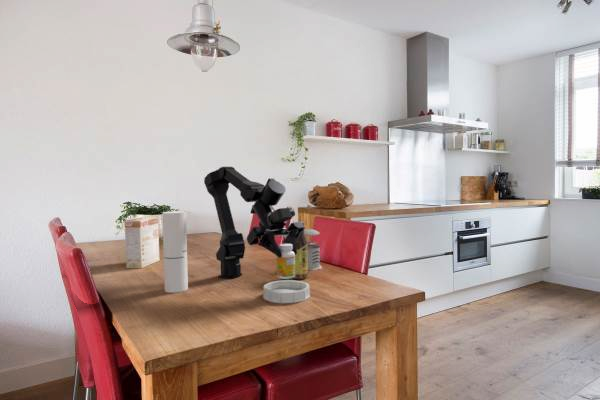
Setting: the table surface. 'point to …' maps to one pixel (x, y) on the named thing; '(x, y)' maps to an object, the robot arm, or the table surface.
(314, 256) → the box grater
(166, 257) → the cylindrical container
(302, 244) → the sauce bottle
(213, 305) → the table surface
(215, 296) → the table surface
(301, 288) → the dish
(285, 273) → the supplement bottle
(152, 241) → the coffeecake box
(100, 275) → the table surface
